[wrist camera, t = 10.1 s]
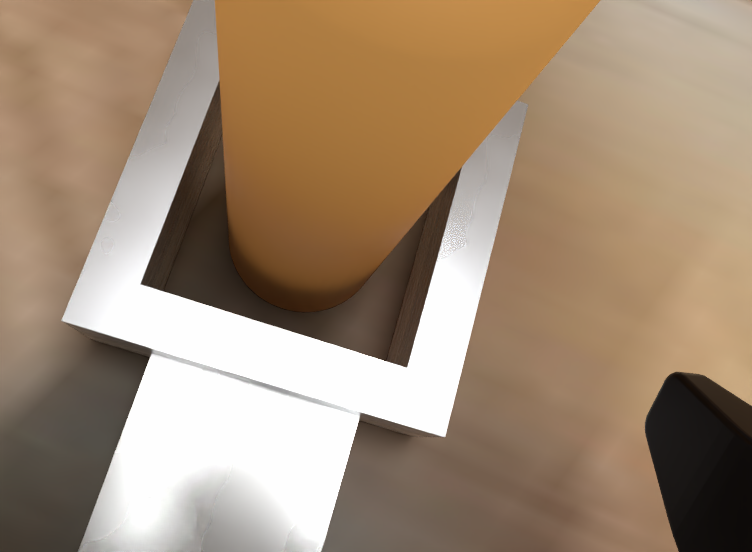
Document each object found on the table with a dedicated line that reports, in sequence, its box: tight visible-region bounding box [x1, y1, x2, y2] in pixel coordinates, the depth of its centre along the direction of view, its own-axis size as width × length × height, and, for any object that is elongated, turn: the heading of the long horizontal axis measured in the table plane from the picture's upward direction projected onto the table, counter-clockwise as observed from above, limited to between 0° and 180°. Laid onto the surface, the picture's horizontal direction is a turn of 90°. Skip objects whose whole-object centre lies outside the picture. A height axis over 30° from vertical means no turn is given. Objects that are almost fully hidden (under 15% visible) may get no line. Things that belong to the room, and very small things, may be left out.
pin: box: [215, 0, 600, 312], centre depth 13 cm, size 4×4×13 cm
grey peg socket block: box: [62, 0, 528, 552], centre depth 17 cm, size 24×8×3 cm, turn 164°
